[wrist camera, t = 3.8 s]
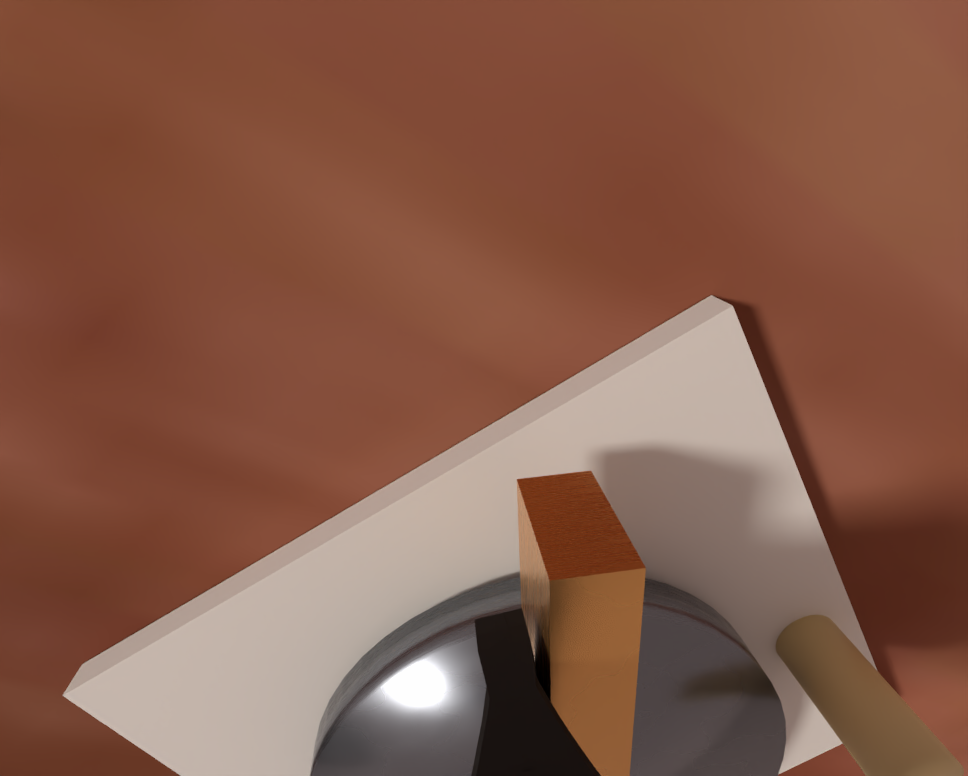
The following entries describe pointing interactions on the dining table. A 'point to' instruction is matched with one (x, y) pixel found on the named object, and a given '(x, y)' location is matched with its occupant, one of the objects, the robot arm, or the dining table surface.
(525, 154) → the dining table surface
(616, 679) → the dial
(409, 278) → the dining table surface
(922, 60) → the dining table surface
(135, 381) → the dining table surface
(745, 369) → the base board
